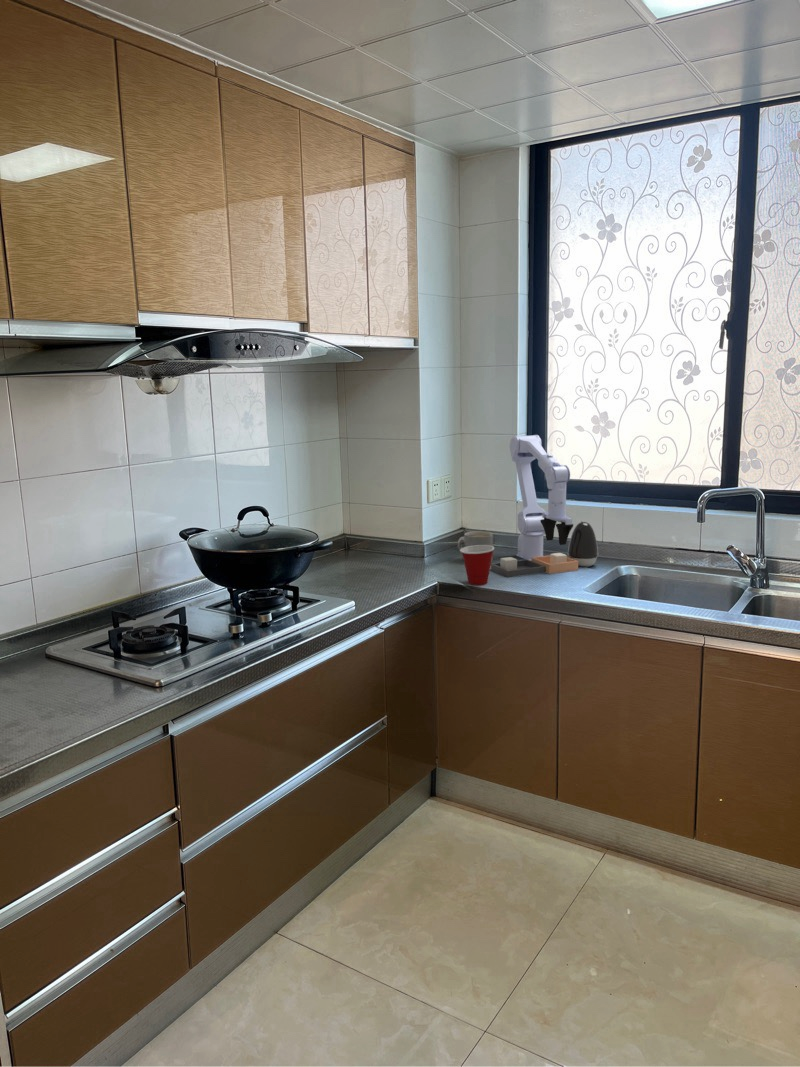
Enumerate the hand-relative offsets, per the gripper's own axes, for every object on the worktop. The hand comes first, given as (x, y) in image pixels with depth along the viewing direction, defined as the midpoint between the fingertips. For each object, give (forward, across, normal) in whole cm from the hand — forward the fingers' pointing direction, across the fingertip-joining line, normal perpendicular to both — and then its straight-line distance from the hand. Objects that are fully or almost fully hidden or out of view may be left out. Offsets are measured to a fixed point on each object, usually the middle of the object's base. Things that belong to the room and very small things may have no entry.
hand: (556, 542), depth 268 cm
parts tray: (+9, -2, -14) cm, 17 cm away
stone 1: (+9, -2, -17) cm, 19 cm away
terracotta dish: (+9, 0, -1) cm, 9 cm away
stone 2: (+9, 0, +1) cm, 9 cm away
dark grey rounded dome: (+10, -1, +12) cm, 15 cm away
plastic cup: (+10, +5, -33) cm, 34 cm away
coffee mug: (+10, -23, -18) cm, 31 cm away
